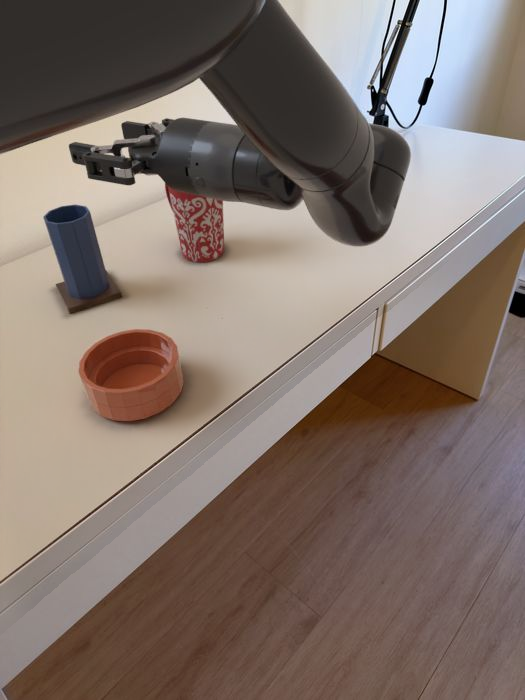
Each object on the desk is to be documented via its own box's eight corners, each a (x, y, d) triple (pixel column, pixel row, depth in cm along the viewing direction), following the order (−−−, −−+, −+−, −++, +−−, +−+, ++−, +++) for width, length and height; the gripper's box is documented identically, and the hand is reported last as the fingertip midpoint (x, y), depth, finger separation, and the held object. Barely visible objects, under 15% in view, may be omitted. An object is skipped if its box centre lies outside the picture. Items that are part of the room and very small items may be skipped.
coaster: (69, 314, 77) (67, 308, 76) (57, 289, 82) (55, 283, 82) (122, 297, 80) (121, 291, 79) (106, 274, 85) (105, 269, 84)
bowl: (105, 439, 58) (94, 406, 54) (79, 380, 65) (68, 349, 62) (199, 400, 62) (193, 368, 58) (163, 349, 69) (157, 318, 66)
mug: (241, 252, 89) (235, 173, 80) (196, 271, 85) (184, 190, 76) (199, 228, 97) (189, 154, 88) (156, 244, 92) (142, 168, 84)
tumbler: (73, 303, 77) (49, 227, 70) (64, 284, 81) (39, 211, 74) (113, 291, 79) (94, 216, 72) (102, 273, 84) (82, 201, 76)
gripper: (247, 105, 57) (133, 92, 64) (166, 144, 48) (42, 124, 55) (250, 173, 62) (144, 154, 69) (177, 221, 53) (62, 193, 59)
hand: (99, 141), depth 62 cm, fingers open, 8 cm apart
